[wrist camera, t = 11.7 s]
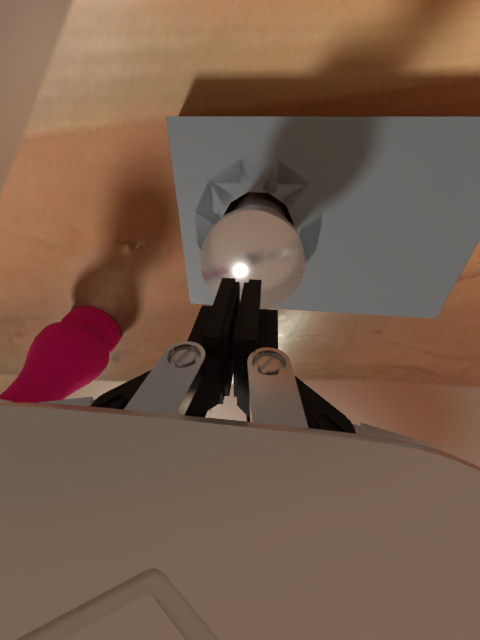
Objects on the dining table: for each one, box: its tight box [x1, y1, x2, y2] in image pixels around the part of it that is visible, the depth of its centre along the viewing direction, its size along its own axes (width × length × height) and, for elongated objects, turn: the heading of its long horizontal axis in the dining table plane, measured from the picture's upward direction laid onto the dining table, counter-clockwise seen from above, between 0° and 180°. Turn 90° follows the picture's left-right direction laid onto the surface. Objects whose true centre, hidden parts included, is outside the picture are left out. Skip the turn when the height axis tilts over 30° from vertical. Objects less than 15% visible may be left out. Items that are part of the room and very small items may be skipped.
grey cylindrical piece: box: [200, 192, 305, 309], centre depth 19 cm, size 6×6×9 cm
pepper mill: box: [0, 306, 121, 404], centre depth 24 cm, size 7×7×20 cm
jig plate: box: [166, 116, 480, 319], centre depth 21 cm, size 22×14×2 cm, turn 90°
